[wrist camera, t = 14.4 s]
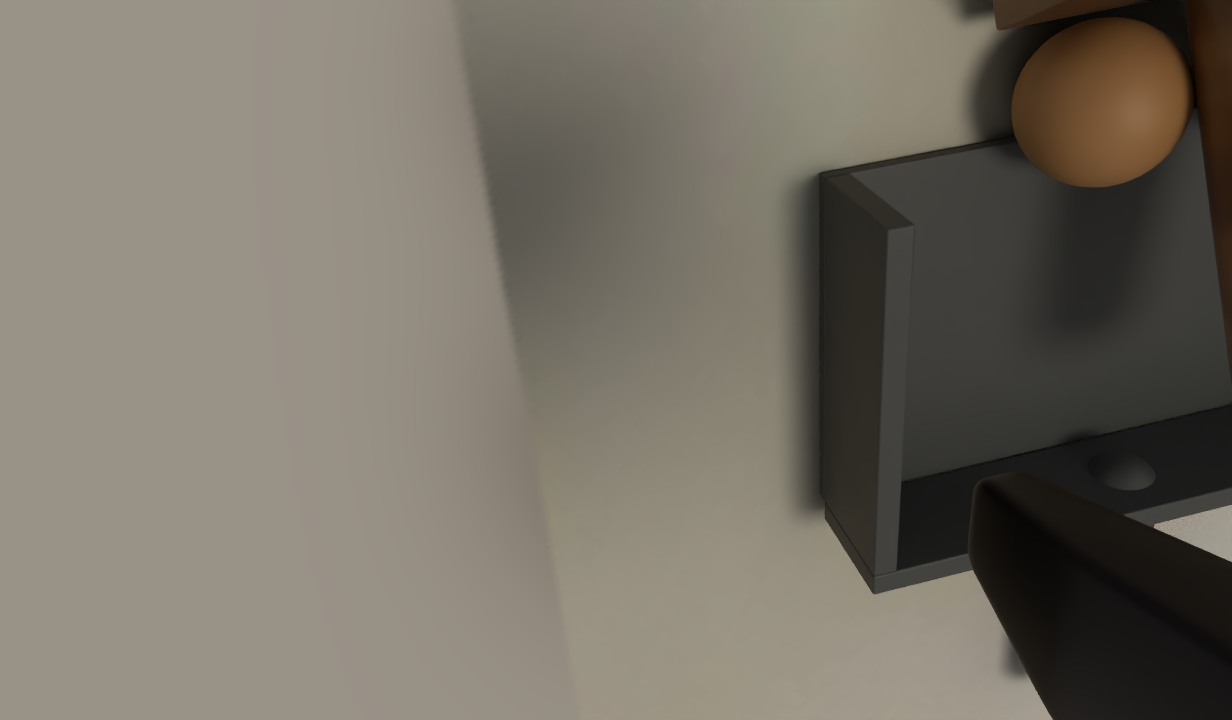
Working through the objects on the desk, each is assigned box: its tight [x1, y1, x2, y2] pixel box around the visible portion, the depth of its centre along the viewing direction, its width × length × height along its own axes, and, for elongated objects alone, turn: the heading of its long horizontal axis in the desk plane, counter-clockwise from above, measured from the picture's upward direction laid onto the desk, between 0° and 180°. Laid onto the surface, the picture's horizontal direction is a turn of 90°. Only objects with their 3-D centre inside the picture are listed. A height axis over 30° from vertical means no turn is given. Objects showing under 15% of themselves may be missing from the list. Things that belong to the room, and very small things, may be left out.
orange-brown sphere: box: [1011, 17, 1195, 187], centre depth 21 cm, size 3×3×3 cm
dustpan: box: [820, 103, 1232, 594], centre depth 26 cm, size 19×15×3 cm
